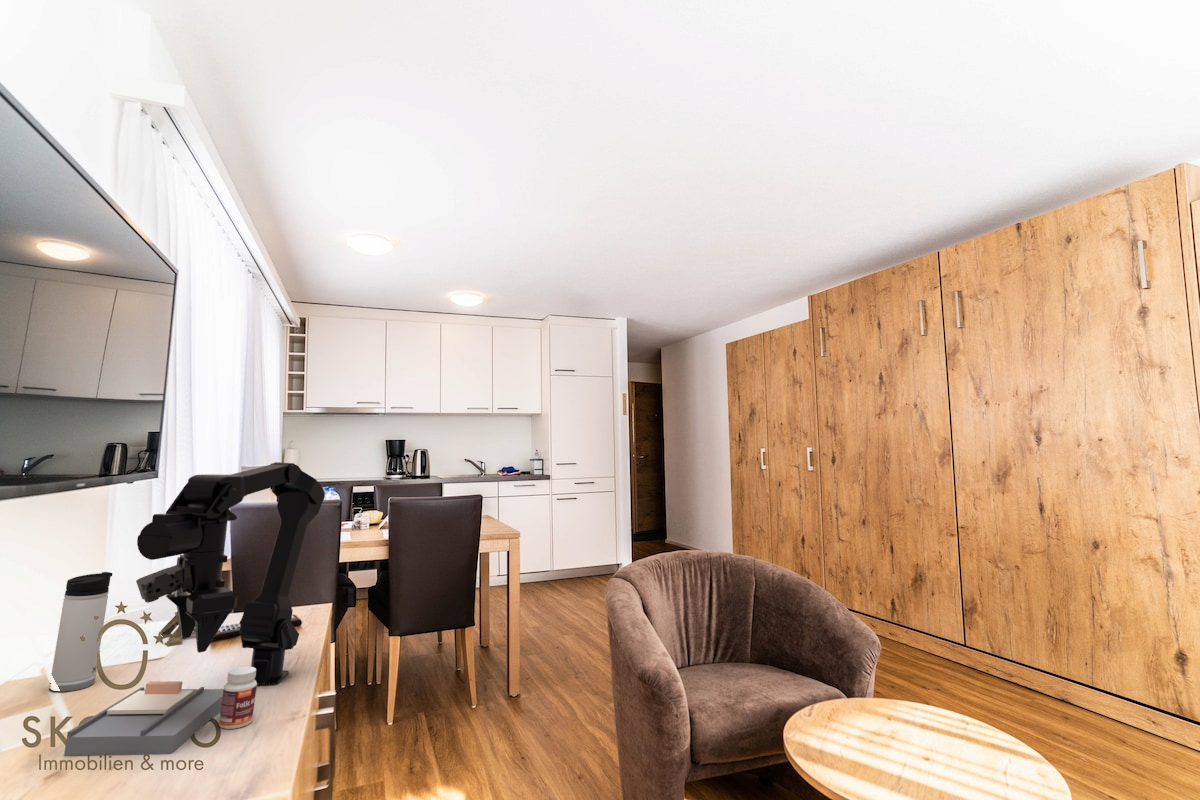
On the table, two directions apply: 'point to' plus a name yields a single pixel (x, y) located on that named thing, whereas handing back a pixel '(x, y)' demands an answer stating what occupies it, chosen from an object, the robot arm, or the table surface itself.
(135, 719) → the board
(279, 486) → the robot arm
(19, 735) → the table surface
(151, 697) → the cover
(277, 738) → the table surface
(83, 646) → the travel mug
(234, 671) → the pill bottle
